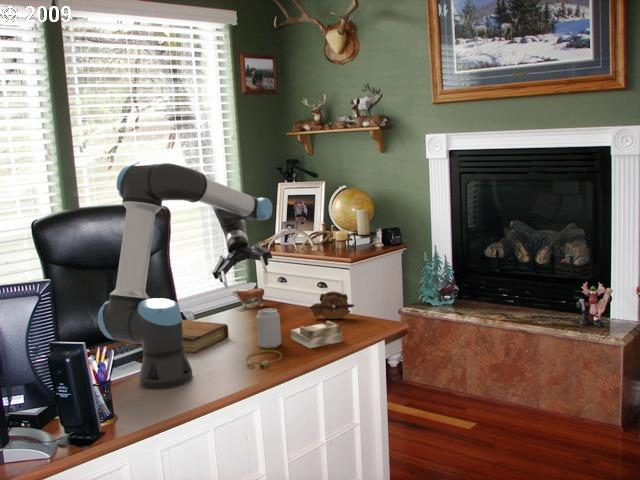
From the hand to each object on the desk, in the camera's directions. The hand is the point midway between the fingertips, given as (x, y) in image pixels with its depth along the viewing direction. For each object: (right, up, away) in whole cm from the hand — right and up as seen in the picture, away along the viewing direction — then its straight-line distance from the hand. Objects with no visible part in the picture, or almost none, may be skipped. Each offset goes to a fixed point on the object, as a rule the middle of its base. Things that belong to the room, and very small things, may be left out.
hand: (245, 277), depth 235 cm
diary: (-22, -24, +16) cm, 36 cm away
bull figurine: (-5, -15, +60) cm, 62 cm away
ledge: (+23, -21, +9) cm, 32 cm away
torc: (+6, -26, -8) cm, 28 cm away
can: (+8, -23, +6) cm, 25 cm away
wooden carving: (+29, -17, +34) cm, 48 cm away
